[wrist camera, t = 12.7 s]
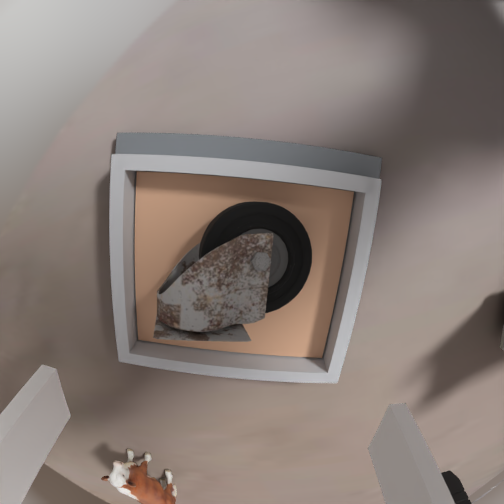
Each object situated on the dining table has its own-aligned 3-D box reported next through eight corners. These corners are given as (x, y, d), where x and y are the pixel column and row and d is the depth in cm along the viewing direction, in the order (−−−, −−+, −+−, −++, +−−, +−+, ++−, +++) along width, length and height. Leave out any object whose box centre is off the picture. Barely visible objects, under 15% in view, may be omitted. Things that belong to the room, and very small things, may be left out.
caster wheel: (297, 206, 28) (284, 317, 29) (164, 194, 25) (157, 313, 27) (331, 209, 22) (312, 347, 23) (159, 191, 19) (152, 346, 20)
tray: (121, 133, 25) (104, 131, 22) (377, 157, 25) (394, 158, 22) (124, 355, 31) (113, 374, 28) (333, 375, 32) (340, 397, 28)
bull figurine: (134, 429, 35) (116, 476, 27) (186, 484, 38) (179, 527, 30) (109, 432, 35) (90, 476, 27) (162, 486, 38) (153, 527, 31)
